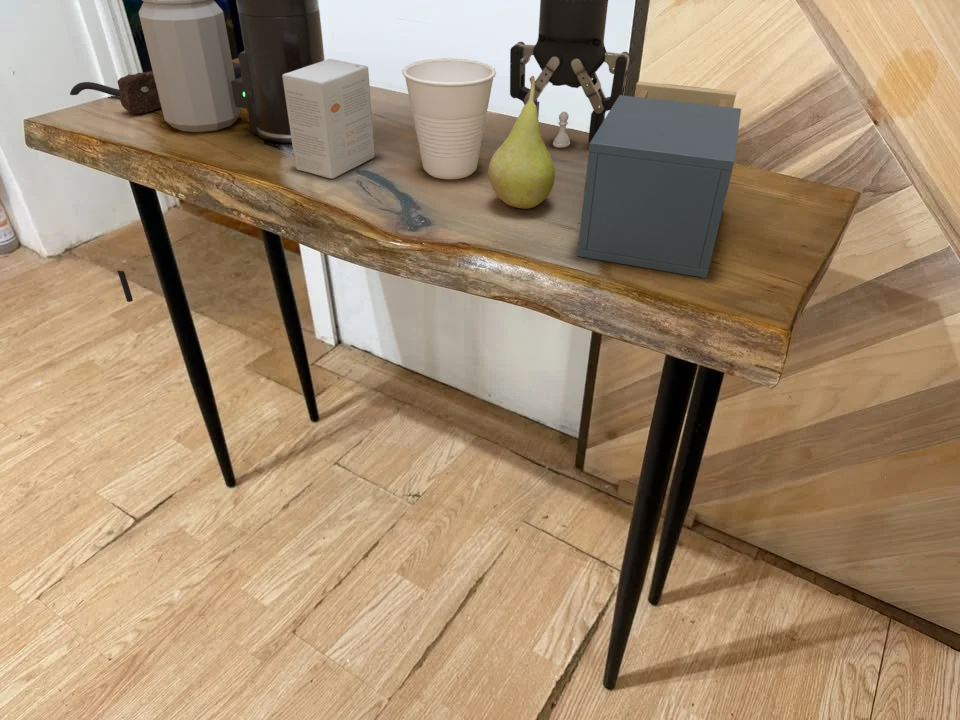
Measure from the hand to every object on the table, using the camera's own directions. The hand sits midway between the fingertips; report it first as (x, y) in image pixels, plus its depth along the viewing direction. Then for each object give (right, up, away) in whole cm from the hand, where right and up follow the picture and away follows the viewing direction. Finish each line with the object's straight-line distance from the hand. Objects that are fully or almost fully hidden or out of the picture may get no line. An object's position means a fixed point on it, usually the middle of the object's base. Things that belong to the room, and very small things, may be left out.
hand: (562, 137), depth 88 cm
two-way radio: (-45, +14, +15) cm, 49 cm away
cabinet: (+6, -15, -19) cm, 25 cm away
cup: (-14, -6, -7) cm, 17 cm away
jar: (-47, +3, +5) cm, 47 cm away
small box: (-27, -5, -6) cm, 28 cm away
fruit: (-6, -11, -14) cm, 19 cm away
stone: (-55, +7, +9) cm, 57 cm away
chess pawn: (0, -1, +1) cm, 1 cm away
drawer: (+10, -8, -10) cm, 17 cm away
